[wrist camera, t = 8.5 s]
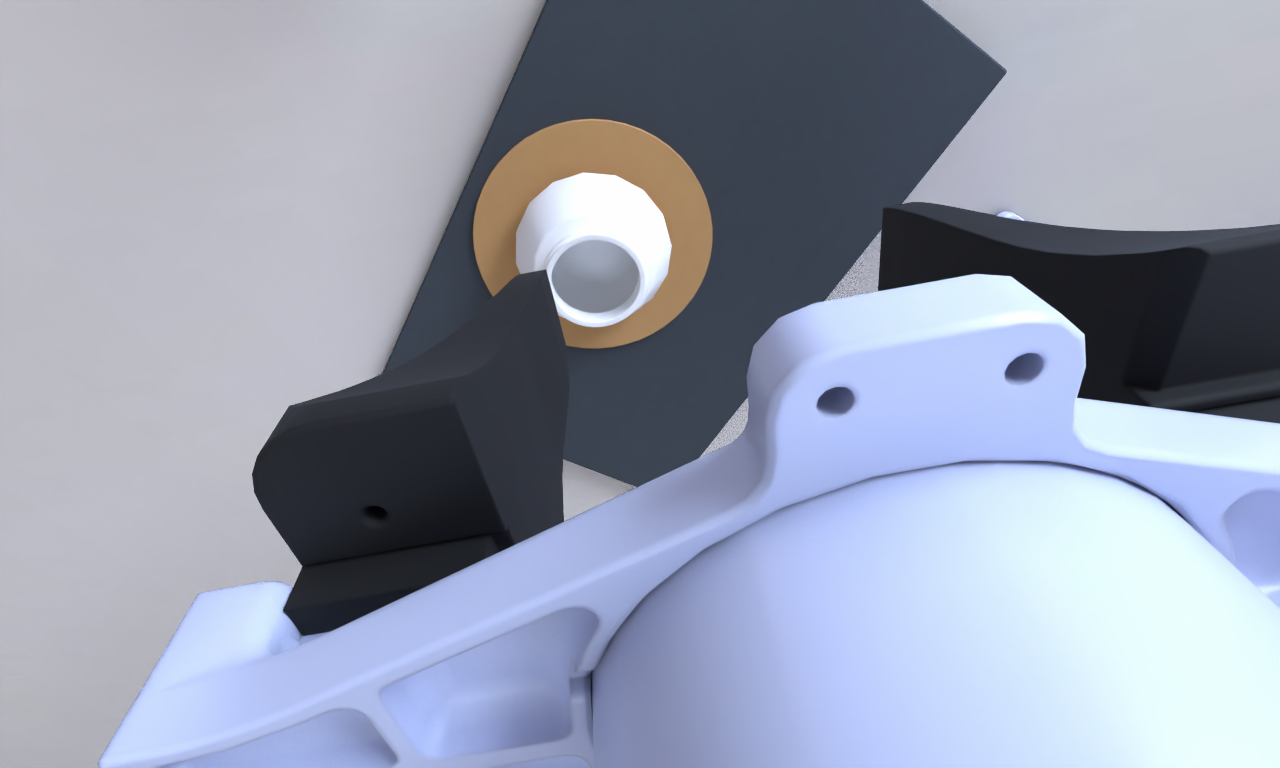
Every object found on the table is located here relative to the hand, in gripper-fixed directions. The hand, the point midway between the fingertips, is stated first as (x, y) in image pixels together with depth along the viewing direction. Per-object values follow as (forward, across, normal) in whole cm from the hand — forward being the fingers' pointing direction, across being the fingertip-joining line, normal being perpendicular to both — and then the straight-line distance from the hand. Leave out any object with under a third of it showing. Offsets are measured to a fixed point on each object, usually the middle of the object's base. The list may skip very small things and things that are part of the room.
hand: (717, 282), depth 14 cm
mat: (+9, +1, +2) cm, 9 cm away
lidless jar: (+8, +3, +2) cm, 9 cm away
